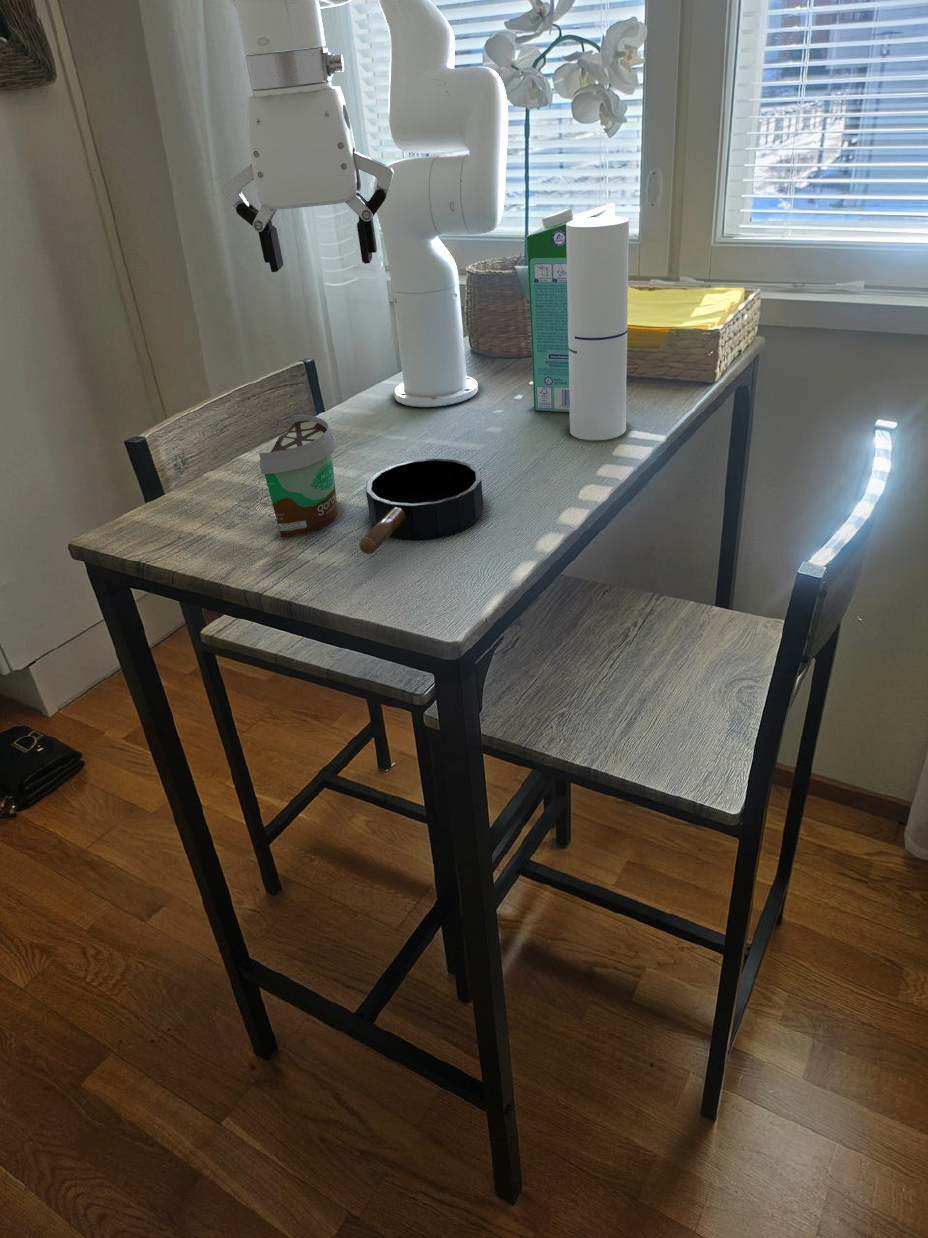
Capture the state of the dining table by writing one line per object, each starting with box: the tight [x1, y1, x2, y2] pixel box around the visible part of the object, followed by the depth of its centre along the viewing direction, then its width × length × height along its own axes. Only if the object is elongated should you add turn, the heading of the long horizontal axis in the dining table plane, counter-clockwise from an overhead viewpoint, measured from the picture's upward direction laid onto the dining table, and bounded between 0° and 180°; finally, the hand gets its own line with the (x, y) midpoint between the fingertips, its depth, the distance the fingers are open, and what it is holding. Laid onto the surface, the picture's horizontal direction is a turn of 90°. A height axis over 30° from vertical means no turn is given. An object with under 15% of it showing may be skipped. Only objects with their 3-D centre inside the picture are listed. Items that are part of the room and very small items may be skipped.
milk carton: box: [526, 203, 615, 413], centre depth 118 cm, size 9×9×25 cm
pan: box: [359, 458, 485, 555], centre depth 92 cm, size 21×12×4 cm, turn 159°
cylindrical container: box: [566, 215, 630, 441], centre depth 107 cm, size 7×7×25 cm
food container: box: [258, 414, 339, 538], centre depth 96 cm, size 12×6×10 cm, turn 172°
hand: (322, 264), depth 92 cm, fingers open, 9 cm apart
